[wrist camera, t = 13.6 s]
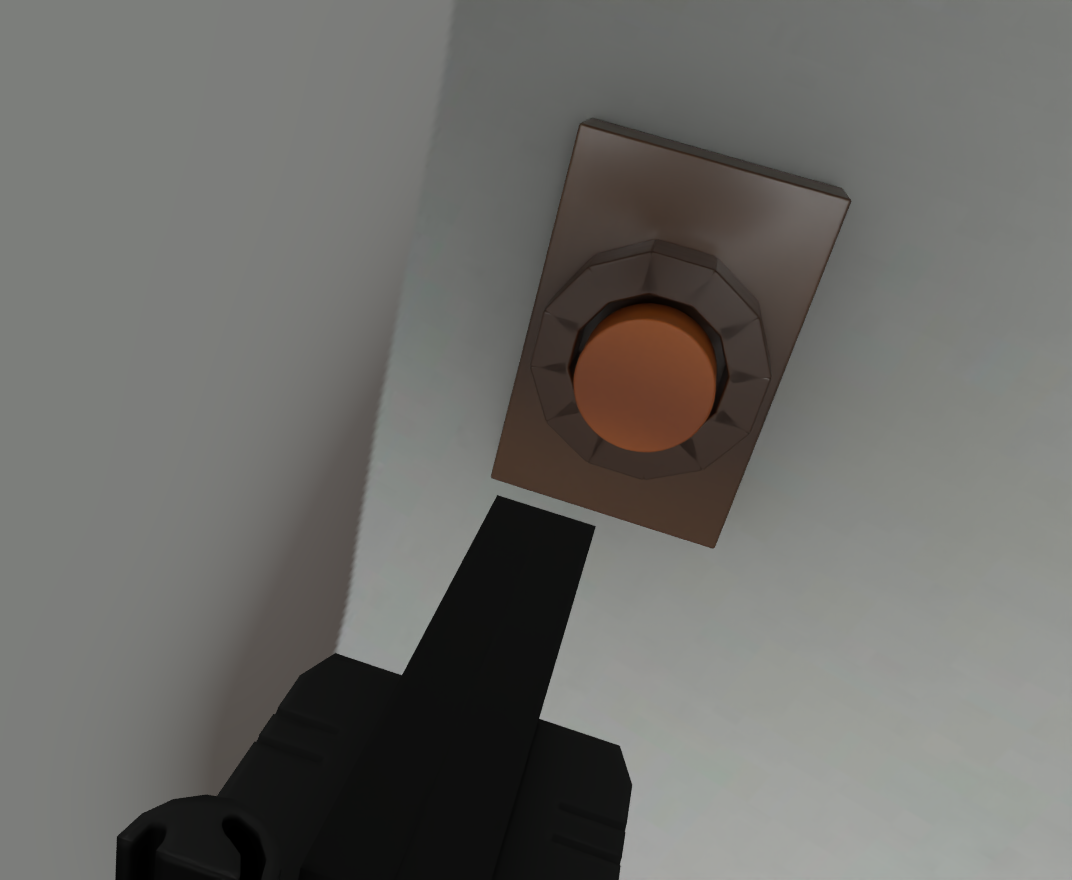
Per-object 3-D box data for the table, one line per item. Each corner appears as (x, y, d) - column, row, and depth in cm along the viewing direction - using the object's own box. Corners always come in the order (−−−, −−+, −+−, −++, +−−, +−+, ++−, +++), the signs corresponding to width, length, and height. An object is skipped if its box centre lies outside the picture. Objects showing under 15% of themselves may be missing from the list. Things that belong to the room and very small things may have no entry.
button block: (590, 117, 28) (569, 127, 24) (843, 188, 27) (861, 210, 23) (504, 452, 33) (476, 502, 29) (715, 519, 32) (713, 578, 29)
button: (602, 285, 26) (593, 301, 24) (735, 325, 26) (736, 343, 24) (567, 407, 28) (557, 429, 26) (692, 446, 27) (689, 470, 26)
